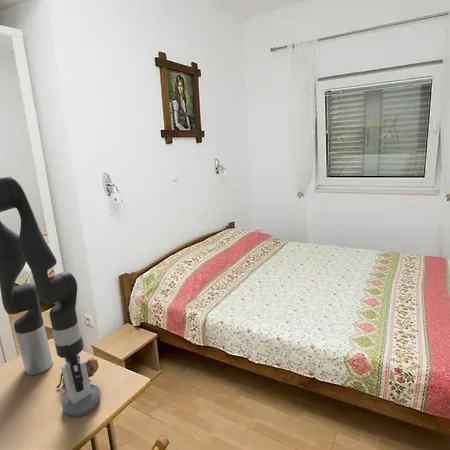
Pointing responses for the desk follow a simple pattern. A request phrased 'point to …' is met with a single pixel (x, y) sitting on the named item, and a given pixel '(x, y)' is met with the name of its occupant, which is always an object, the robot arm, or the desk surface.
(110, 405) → the desk surface
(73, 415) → the grey rounded flat disc
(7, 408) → the desk surface
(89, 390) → the skincare box
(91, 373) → the lion figurine
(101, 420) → the desk surface
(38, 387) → the desk surface
